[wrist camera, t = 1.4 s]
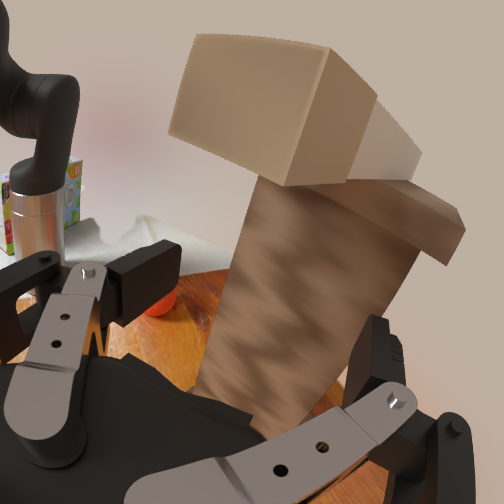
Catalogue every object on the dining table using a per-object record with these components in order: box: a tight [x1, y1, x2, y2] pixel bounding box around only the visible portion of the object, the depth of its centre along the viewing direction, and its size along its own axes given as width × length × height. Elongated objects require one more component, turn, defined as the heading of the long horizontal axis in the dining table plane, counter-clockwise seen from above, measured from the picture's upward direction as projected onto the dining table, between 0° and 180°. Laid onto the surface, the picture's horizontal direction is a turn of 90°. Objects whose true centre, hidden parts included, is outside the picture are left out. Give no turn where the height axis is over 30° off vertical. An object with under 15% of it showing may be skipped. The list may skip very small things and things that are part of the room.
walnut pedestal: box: [186, 175, 466, 440], centre depth 26 cm, size 14×12×32 cm
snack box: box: [0, 156, 82, 255], centre depth 48 cm, size 21×6×15 cm, turn 160°
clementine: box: [144, 287, 176, 316], centre depth 44 cm, size 8×7×7 cm
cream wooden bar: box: [168, 34, 422, 186], centre depth 16 cm, size 4×24×3 cm, turn 140°
